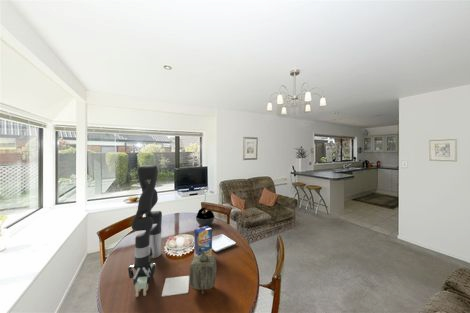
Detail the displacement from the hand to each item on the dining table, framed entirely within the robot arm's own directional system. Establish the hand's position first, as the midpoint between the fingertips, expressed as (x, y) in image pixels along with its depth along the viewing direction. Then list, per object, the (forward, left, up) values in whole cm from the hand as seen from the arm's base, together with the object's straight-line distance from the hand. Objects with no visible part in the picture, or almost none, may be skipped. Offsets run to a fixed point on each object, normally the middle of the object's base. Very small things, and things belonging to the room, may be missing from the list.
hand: (142, 283), depth 99 cm
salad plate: (-45, +48, -6) cm, 66 cm away
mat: (-2, +18, -5) cm, 19 cm away
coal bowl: (-89, +38, -5) cm, 97 cm away
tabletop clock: (+5, +33, -5) cm, 34 cm away
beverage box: (-27, +34, -5) cm, 44 cm away
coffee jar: (-11, -2, -5) cm, 12 cm away
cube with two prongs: (0, 0, -5) cm, 5 cm away
